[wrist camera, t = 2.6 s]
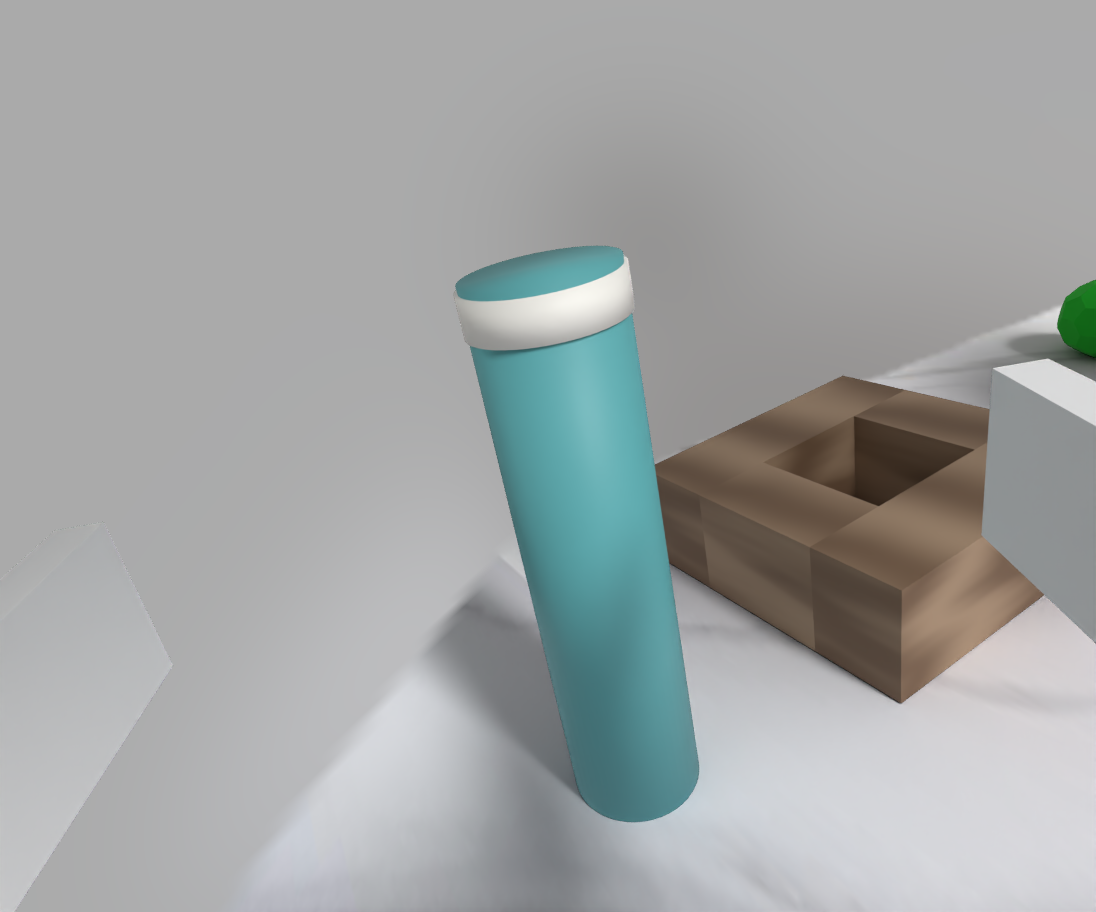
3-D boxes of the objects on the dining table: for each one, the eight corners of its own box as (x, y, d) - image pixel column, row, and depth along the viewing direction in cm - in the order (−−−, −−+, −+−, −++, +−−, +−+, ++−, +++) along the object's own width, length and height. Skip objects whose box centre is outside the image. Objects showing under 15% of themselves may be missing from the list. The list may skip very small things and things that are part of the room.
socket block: (845, 455, 45) (842, 375, 43) (1111, 543, 33) (1125, 440, 31) (658, 555, 39) (644, 469, 37) (900, 703, 28) (901, 590, 26)
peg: (647, 701, 30) (565, 241, 23) (729, 773, 26) (664, 249, 19) (549, 763, 28) (424, 284, 21) (623, 850, 24) (503, 303, 17)
